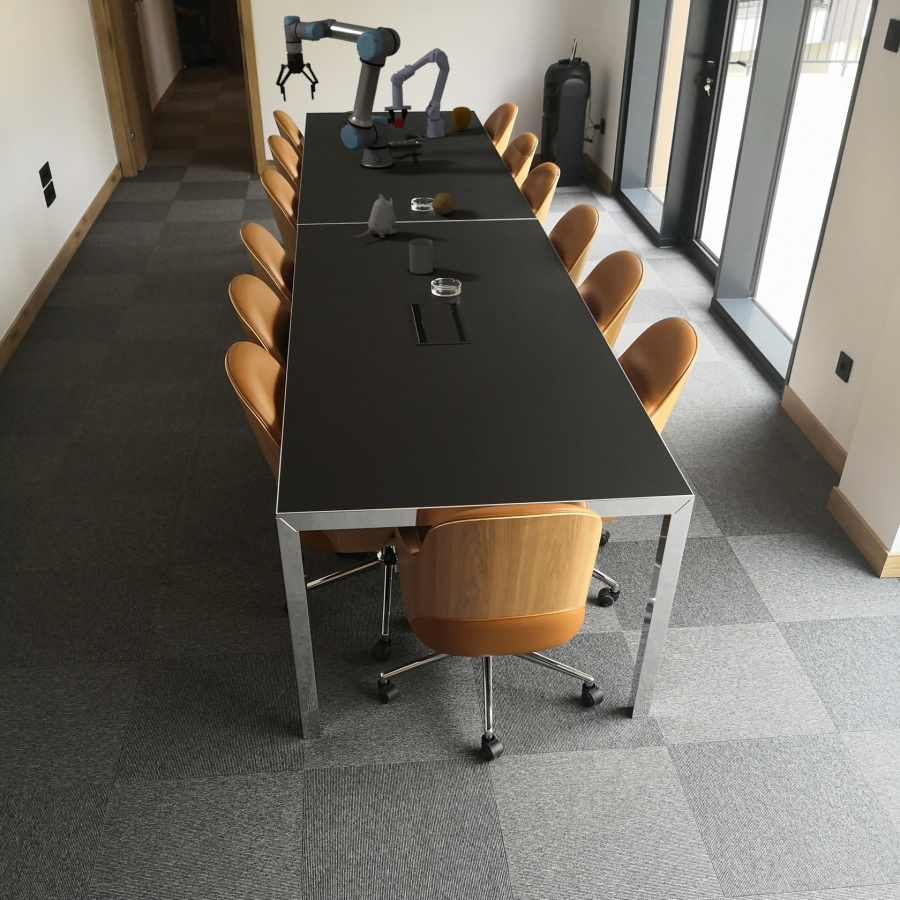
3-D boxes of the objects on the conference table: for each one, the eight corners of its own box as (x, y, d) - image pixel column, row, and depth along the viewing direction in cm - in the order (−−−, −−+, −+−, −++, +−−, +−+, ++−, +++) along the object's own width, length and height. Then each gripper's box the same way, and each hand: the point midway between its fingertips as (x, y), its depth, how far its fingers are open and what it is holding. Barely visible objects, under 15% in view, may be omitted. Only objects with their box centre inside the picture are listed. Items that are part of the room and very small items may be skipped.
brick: (393, 126, 474) (392, 117, 471) (401, 125, 475) (401, 116, 472) (395, 128, 470) (395, 119, 467) (403, 127, 471) (403, 118, 468)
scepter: (393, 108, 508) (341, 106, 505) (392, 121, 500) (340, 119, 498) (392, 117, 512) (341, 115, 510) (392, 130, 505) (341, 128, 503)
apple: (471, 132, 486) (471, 108, 479) (451, 132, 486) (451, 108, 479) (470, 128, 495) (471, 104, 488) (452, 128, 495) (452, 104, 488)
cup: (409, 265, 311) (408, 238, 306) (432, 265, 312) (431, 238, 307) (410, 274, 304) (409, 246, 299) (433, 273, 305) (433, 246, 299)
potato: (453, 208, 369) (453, 189, 365) (456, 218, 357) (456, 199, 353) (431, 208, 368) (430, 189, 364) (432, 218, 356) (432, 199, 352)
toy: (402, 233, 342) (401, 194, 333) (358, 248, 327) (355, 208, 319) (387, 227, 347) (385, 190, 339) (342, 242, 332) (339, 203, 324)
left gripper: (269, 54, 403) (274, 103, 414) (322, 52, 409) (325, 100, 420) (267, 52, 409) (272, 100, 420) (319, 50, 415) (322, 97, 427)
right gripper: (386, 100, 459) (387, 126, 466) (412, 98, 463) (413, 125, 470) (383, 97, 465) (384, 124, 472) (409, 96, 468) (409, 122, 476)
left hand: (298, 100), depth 420 cm, fingers open, 13 cm apart
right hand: (398, 124), depth 471 cm, fingers closed on brick, 5 cm apart
